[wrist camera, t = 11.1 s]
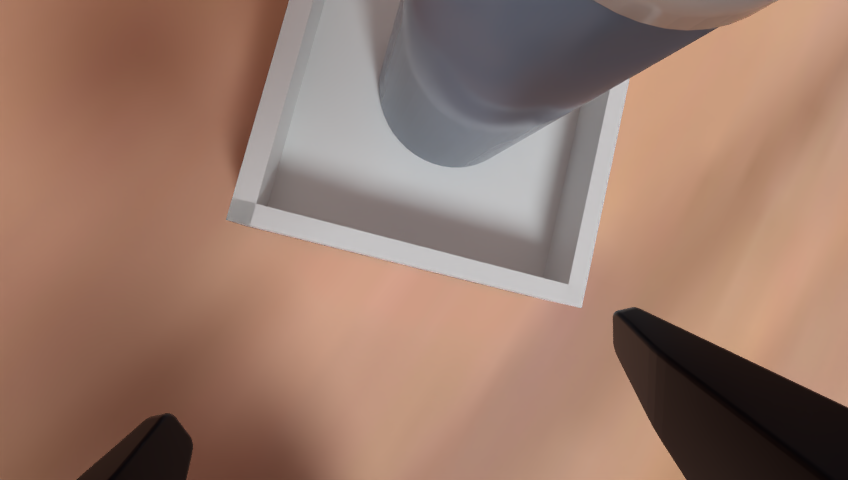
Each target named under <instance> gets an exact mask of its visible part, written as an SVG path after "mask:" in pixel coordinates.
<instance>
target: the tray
mask: <svg viewBox="0 0 848 480" xmlns="http://www.w3.org/2000/svg"><path fill="white" fill-rule="evenodd" d="M399 3H400V0H289V2H288V6H287V9H286V13H285V16H284V20H283V23H282V27H281V30H280V34H279V37H278V41H277V44H276V48H275V51H274V55H273V58H272V62H271V65H270V69H269V72H268V75H267V79H266V82H265V86H264V89H263V93H262V96H261V100H260V103H259V107H258V110H257V114H256V117H255V121H254V124H253V128H252V131H251V135H250V138H249V142H248V145H247V148H246V152H245V155H244V159H243V162H242V166H241V169H240V173H239V176H238V180H237V183H236V187H235V190H234V194H233V197H232V201H231V204H230V208H229V211H228V215H227V218H226V220H229V221H232V222H235V223H238V224H241V225H244V226H248V227H252V228H256V229H260V230H264V231H269V232H273V233H277V234H281V235H285V236H289V237H293V238H297V239H301V240H305V241H309V242H313V243H317V244H321V245H325V246H329V247H333V248H337V249H341V250H345V251H349V252H353V253H357V254H361V255H365V256H369V257H373V258H377V259H381V260H385V261H389V262H394V263H398V264H402V265H406V266H410V267H414V268H418V269H422V270H426V271H430V272H434V273H438V274H442V275H446V276H450V277H454V278H458V279H462V280H466V281H470V282H474V283H478V284H482V285H486V286H490V287H494V288H498V289H502V290H506V291H510V292H515V293H519V294H523V295H527V296H531V297H535V298H539V299H543V300H547V301H552V302H556V303H561V304H565V305H570V306H574V307H579V308H582V304H583V299H584V294H585V289H586V284H587V280H588V275H589V270H590V265H591V261H592V256H593V251H594V246H595V241H596V237H597V232H598V227H599V222H600V218H601V213H602V208H603V203H604V198H605V194H606V189H607V184H608V179H609V175H610V170H611V165H612V160H613V155H614V151H615V146H616V141H617V136H618V131H619V127H620V122H621V117H622V112H623V108H624V103H625V98H626V93H627V88H628V84H629V79H630V78H629V79H627V80H626V81H624V82H622V83H620V84H619V85H617V86H615V87H613V88H612V89H610V90H608V91H606V92H605V93H603V94H601V95H599V96H598V97H596V98H594V99H592V100H591V101H589V102H587V103H585V104H584V105H582V106H580V107H579V108H577V109H575V110H573V111H572V112H570V113H568V114H566V115H565V116H563V117H561V118H559V119H558V120H556V121H554V122H552V123H551V124H549V125H547V126H545V127H544V128H542V129H540V130H538V131H537V132H535V133H533V134H531V135H530V136H528V137H526V138H525V139H523V140H521V141H519V142H518V143H516V144H514V145H512V146H511V147H509V148H507V149H505V150H504V151H502V152H500V153H498V154H497V155H495V156H493V157H491V158H490V159H488V160H486V161H484V162H481V163H479V164H476V165H472V166H468V167H445V166H440V165H436V164H432V163H430V162H428V161H425V160H423V159H421V158H420V157H418V156H416V155H415V154H413V153H412V152H411V151H410V150H408V149H407V148H406V147H405V146H404V145H403V144H402V143H401V142H400V141H399V140H398V139H397V137H396V136H395V135H394V134H393V132H392V130H391V129H390V127H389V125H388V123H387V121H386V119H385V117H384V114H383V111H382V108H381V103H380V97H379V77H380V72H381V68H382V64H383V60H384V57H385V53H386V50H387V46H388V42H389V39H390V35H391V32H392V28H393V25H394V21H395V17H396V14H397V10H398V7H399Z"/></svg>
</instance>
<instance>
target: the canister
mask: <svg viewBox="0 0 848 480" xmlns="http://www.w3.org/2000/svg"><path fill="white" fill-rule="evenodd" d="M776 1H778V0H400V3H399V7H398V10H397V14H396V17H395V21H394V25H393V28H392V32H391V35H390V39H389V42H388V46H387V50H386V53H385V57H384V60H383V64H382V68H381V72H380V77H379V97H380V103H381V108H382V111H383V114H384V117H385V119H386V121H387V123H388V125H389V127H390V129H391V130H392V132H393V134H394V135H395V136H396V137H397V139H398V140H399V141H400V142H401V143H402V144H403V145H404V146H405V147H406V148H407V149H408V150H410V151H411V152H412V153H413V154H415V155H416V156H418V157H420V158H421V159H423V160H425V161H428V162H430V163H432V164H436V165H440V166H445V167H468V166H472V165H476V164H479V163H481V162H484V161H486V160H488V159H490V158H491V157H493V156H495V155H497V154H498V153H500V152H502V151H504V150H505V149H507V148H509V147H511V146H512V145H514V144H516V143H518V142H519V141H521V140H523V139H525V138H526V137H528V136H530V135H531V134H533V133H535V132H537V131H538V130H540V129H542V128H544V127H545V126H547V125H549V124H551V123H552V122H554V121H556V120H558V119H559V118H561V117H563V116H565V115H566V114H568V113H570V112H572V111H573V110H575V109H577V108H579V107H580V106H582V105H584V104H585V103H587V102H589V101H591V100H592V99H594V98H596V97H598V96H599V95H601V94H603V93H605V92H606V91H608V90H610V89H612V88H613V87H615V86H617V85H619V84H620V83H622V82H624V81H626V80H627V79H629V78H631V77H633V76H634V75H636V74H638V73H640V72H641V71H643V70H645V69H646V68H648V67H650V66H652V65H653V64H655V63H657V62H659V61H660V60H662V59H664V58H666V57H667V56H669V55H671V54H673V53H674V52H676V51H678V50H680V49H681V48H683V47H685V46H687V45H688V44H690V43H692V42H694V41H695V40H697V39H699V38H701V37H702V36H704V35H706V34H707V33H709V32H711V31H713V30H714V29H716V28H718V27H721V26H725V25H729V24H732V23H734V22H737V21H739V20H742V19H744V18H747V17H749V16H751V15H753V14H754V13H756V12H758V11H760V10H762V9H763V8H765V7H767V6H769V5H771V4H772V3H774V2H776Z"/></svg>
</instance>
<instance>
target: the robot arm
mask: <svg viewBox="0 0 848 480" xmlns="http://www.w3.org/2000/svg"><path fill="white" fill-rule="evenodd" d="M613 344H614V349H615V352H616V354H617V357H618V359H619V361H620V363H621V365H622V367H623V369H624V371H625V373H626V375H627V377H628V378H629V380H630V382H631V384H632V386H633V388H634V390H635V392H636V394H637V396H638V398H639V400H640V402H641V404H642V406H643V408H644V410H645V412H646V414H647V416H648V418H649V420H650V422H651V424H652V426H653V428H654V429H655V431H656V433H657V434H658V436H659V438H660V439H661V441H662V442H663V444H664V446H665V447H666V449H667V450H668V452H669V453H670V455H671V456H672V458H673V460H674V461H675V463H676V464H677V466H678V467H679V469H680V470H681V472H682V474H683V475H684V477H685V478H686V480H848V407H846V406H844V405H841V404H839V403H837V402H835V401H833V400H831V399H829V398H827V397H825V396H822V395H820V394H818V393H816V392H814V391H812V390H810V389H808V388H806V387H804V386H801V385H799V384H797V383H795V382H793V381H791V380H789V379H787V378H785V377H783V376H780V375H778V374H776V373H774V372H772V371H770V370H768V369H766V368H764V367H761V366H759V365H757V364H755V363H753V362H751V361H749V360H747V359H745V358H743V357H740V356H738V355H736V354H734V353H732V352H730V351H728V350H726V349H724V348H721V347H719V346H717V345H715V344H713V343H711V342H709V341H707V340H705V339H703V338H700V337H698V336H696V335H694V334H692V333H690V332H688V331H686V330H684V329H682V328H679V327H677V326H675V325H673V324H671V323H669V322H667V321H665V320H663V319H660V318H658V317H656V316H654V315H652V314H650V313H648V312H646V311H644V310H642V309H639V308H636V307H632V308H627V309H623V310H618V311H616V312H615V313H614V315H613ZM192 450H193V443H192V439H191V437H190V435H189V434H188V433H187V432H186V430H185V429H184V428H183V426H182V425H181V424H180V422H179V421H178V420H177V418H176V417H175V416H174V415H172V414H170V413H165V414H161V415H157V416H152V417H150V418H148V419H146V420H145V421H144V422H142V423H141V424H140V425H139V426H138V427H137V428H135V429H134V430H133V431H132V432H131V433H130V434H129V435H127V436H126V437H125V438H124V439H123V440H122V441H120V442H119V443H118V444H117V445H116V446H115V447H114V448H112V449H111V450H110V451H109V452H108V453H107V454H105V455H104V456H103V457H102V458H101V459H100V460H99V461H97V462H96V463H95V464H94V465H93V466H92V467H90V468H89V469H88V470H87V471H86V472H85V473H83V474H82V475H81V476H80V477H79V478H78V479H77V480H186V478H187V473H188V469H189V464H190V460H191V455H192Z"/></svg>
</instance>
